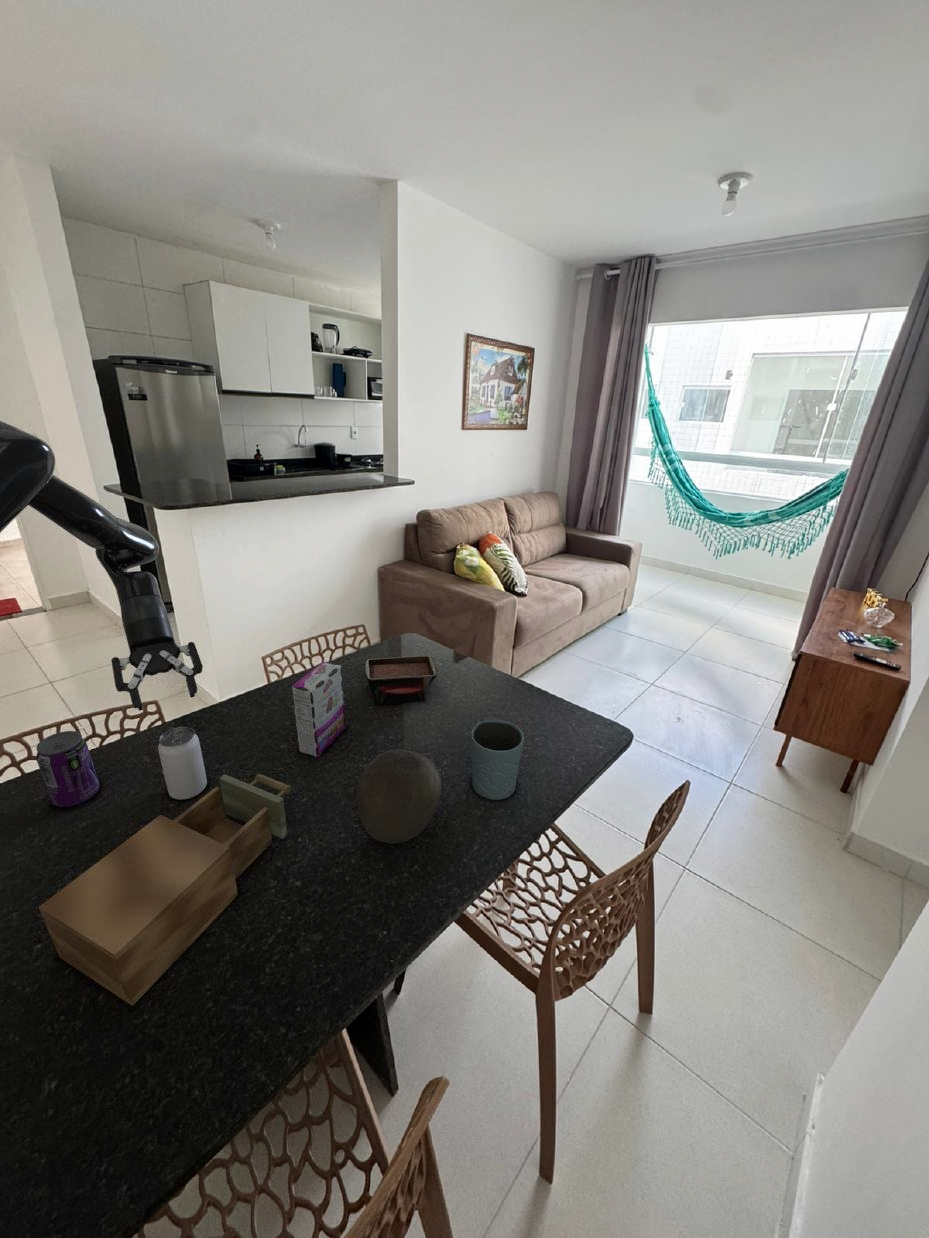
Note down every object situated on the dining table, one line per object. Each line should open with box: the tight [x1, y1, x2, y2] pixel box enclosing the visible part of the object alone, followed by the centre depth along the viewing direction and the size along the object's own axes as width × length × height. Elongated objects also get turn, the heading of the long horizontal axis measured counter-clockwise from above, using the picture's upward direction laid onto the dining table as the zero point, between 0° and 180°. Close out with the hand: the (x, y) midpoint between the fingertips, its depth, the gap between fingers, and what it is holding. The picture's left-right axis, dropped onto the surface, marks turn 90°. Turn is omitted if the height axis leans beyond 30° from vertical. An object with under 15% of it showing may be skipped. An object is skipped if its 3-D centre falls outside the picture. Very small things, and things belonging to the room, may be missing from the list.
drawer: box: [172, 773, 292, 881], centre depth 82 cm, size 20×13×8 cm, turn 157°
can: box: [157, 726, 208, 801], centre depth 93 cm, size 6×6×12 cm
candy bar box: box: [291, 661, 347, 758], centre depth 108 cm, size 11×5×16 cm, turn 161°
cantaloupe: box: [355, 748, 443, 845], centre depth 87 cm, size 14×14×15 cm
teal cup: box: [470, 719, 525, 801], centre depth 99 cm, size 10×10×12 cm
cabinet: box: [38, 814, 239, 1007], centre depth 70 cm, size 17×14×10 cm
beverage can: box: [35, 730, 100, 808], centre depth 90 cm, size 7×7×12 cm
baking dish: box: [363, 654, 438, 706], centre depth 129 cm, size 14×18×10 cm
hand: (167, 702), depth 95 cm, fingers open, 8 cm apart
